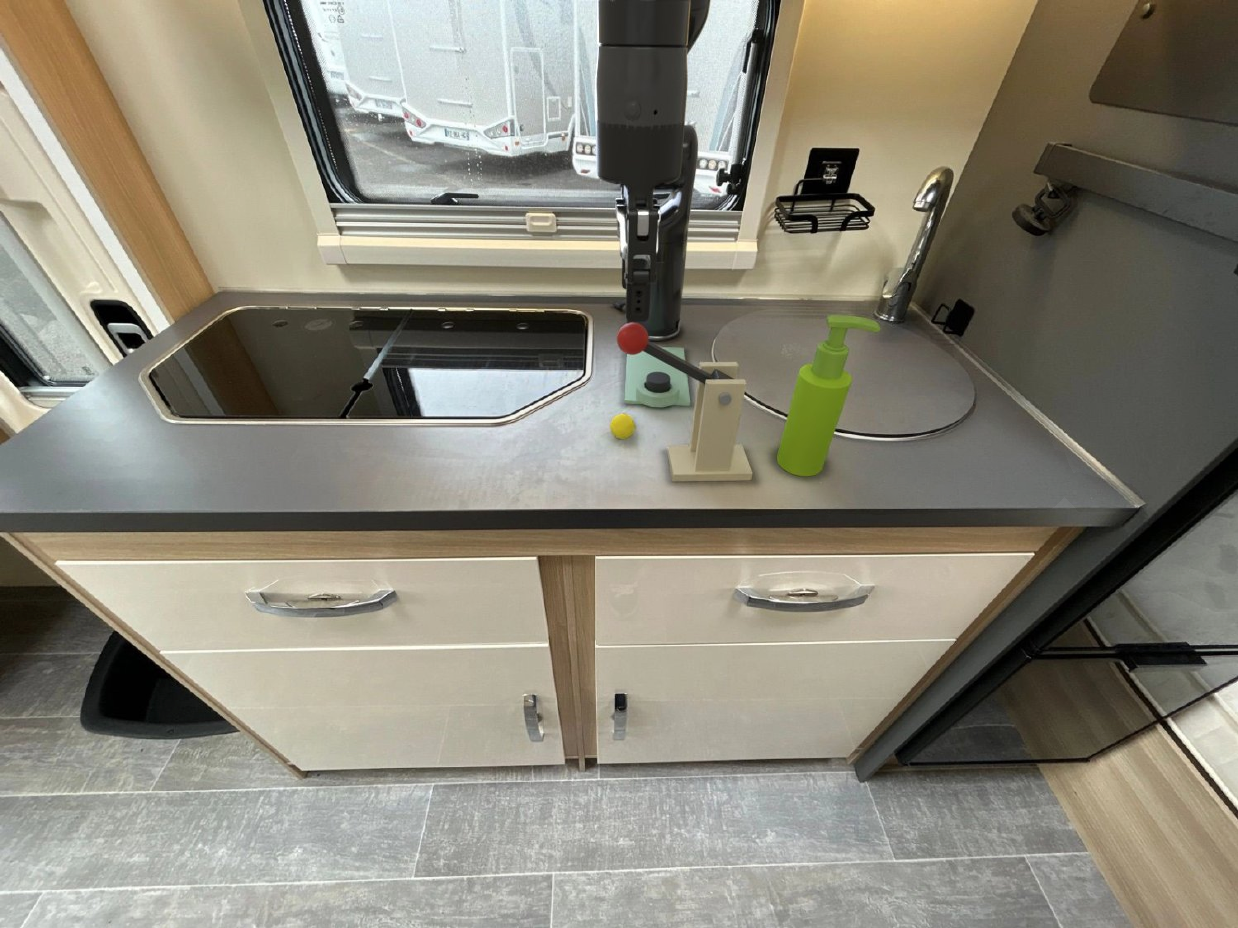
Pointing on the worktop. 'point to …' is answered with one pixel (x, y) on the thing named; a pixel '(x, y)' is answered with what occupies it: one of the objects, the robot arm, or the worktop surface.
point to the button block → (646, 364)
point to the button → (658, 382)
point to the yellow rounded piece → (622, 426)
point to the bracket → (713, 431)
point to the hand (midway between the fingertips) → (634, 303)
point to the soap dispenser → (819, 400)
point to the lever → (660, 352)
